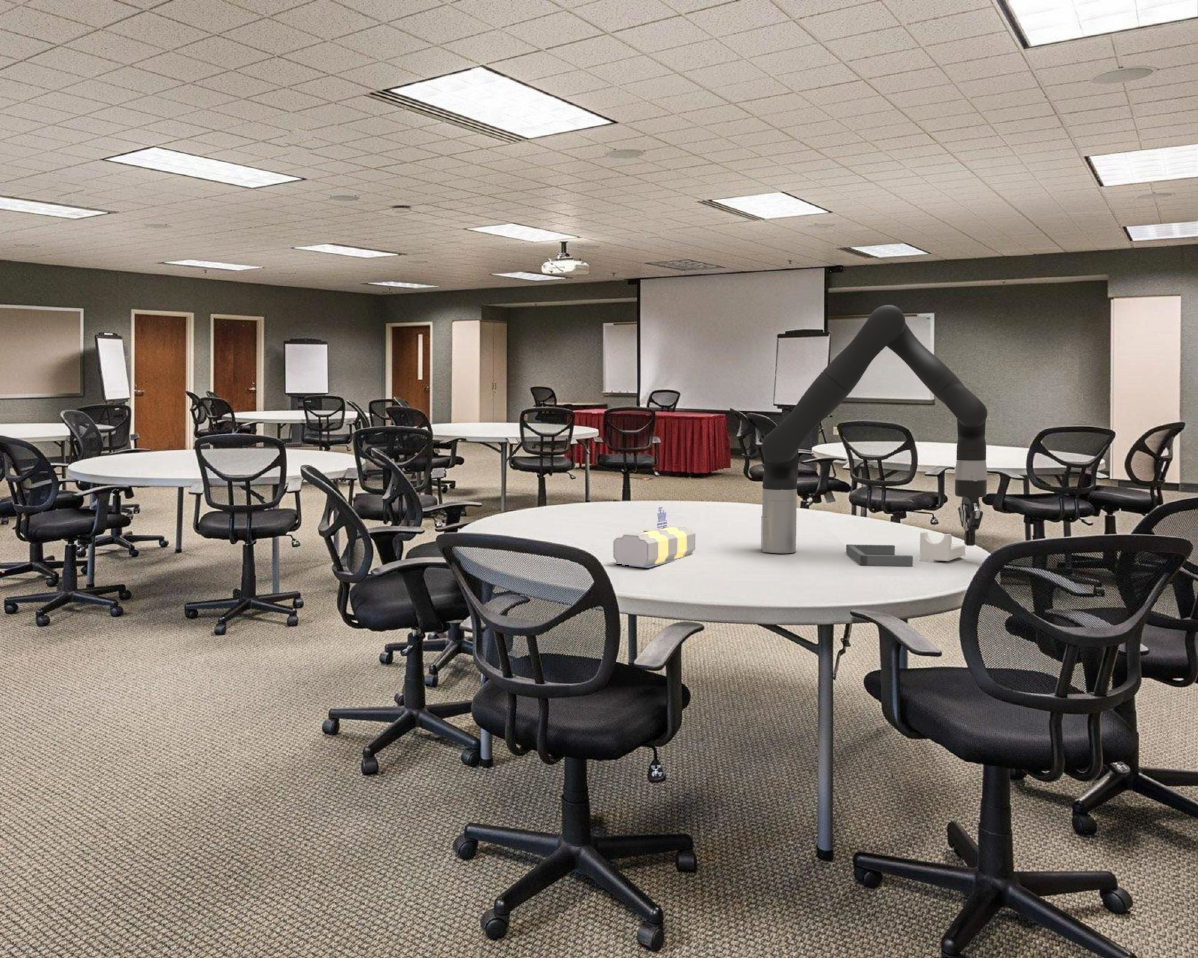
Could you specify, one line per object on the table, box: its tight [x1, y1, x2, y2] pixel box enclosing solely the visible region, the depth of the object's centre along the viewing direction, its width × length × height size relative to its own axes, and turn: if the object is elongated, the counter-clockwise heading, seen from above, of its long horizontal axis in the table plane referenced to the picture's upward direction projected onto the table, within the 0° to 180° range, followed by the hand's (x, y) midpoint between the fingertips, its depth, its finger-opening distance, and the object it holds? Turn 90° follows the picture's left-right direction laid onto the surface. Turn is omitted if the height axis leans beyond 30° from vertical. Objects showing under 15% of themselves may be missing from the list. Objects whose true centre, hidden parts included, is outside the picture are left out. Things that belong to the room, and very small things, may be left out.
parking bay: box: [845, 544, 914, 567], centre depth 235 cm, size 12×21×2 cm, turn 174°
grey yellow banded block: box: [612, 506, 696, 569], centre depth 237 cm, size 25×10×13 cm, turn 146°
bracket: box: [919, 531, 966, 563], centre depth 236 cm, size 13×7×8 cm, turn 139°
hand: (969, 545), depth 232 cm, fingers closed
